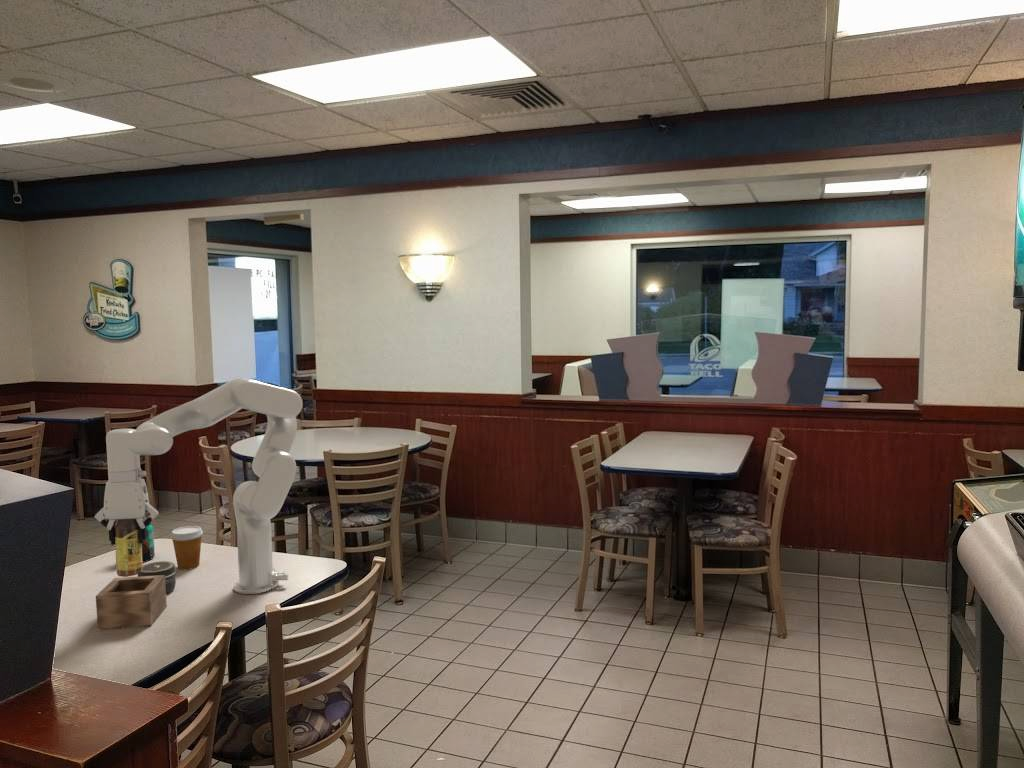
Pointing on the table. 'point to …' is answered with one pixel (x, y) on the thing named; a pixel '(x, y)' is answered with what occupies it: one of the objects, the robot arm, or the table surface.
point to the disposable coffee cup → (187, 546)
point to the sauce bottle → (128, 548)
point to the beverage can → (148, 544)
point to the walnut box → (131, 602)
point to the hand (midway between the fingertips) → (128, 542)
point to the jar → (161, 572)
